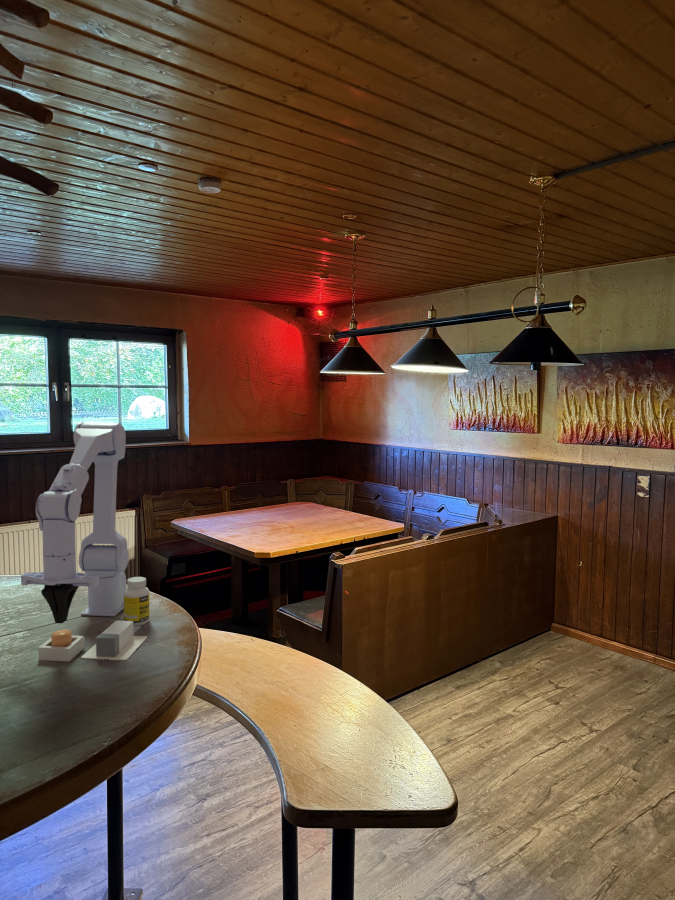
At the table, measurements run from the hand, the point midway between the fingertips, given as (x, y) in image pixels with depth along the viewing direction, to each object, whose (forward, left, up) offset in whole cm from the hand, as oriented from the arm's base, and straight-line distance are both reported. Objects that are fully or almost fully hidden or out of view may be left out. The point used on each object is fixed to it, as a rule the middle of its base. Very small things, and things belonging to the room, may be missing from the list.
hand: (61, 621), depth 117 cm
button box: (0, 0, -7) cm, 7 cm away
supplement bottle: (-18, +8, -7) cm, 20 cm away
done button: (0, 0, -5) cm, 5 cm away
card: (-13, +7, -7) cm, 16 cm away
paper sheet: (-4, +9, -7) cm, 12 cm away
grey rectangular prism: (-4, +9, -6) cm, 12 cm away
